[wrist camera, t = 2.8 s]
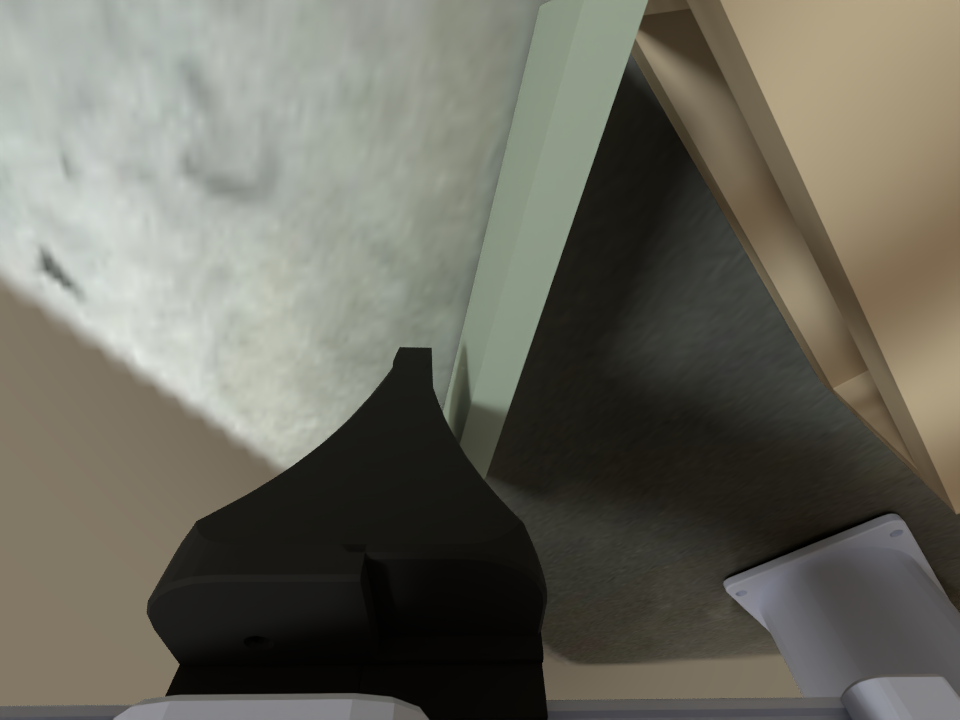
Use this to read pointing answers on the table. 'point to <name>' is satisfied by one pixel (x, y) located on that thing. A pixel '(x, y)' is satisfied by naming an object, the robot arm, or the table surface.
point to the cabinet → (837, 188)
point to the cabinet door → (536, 204)
